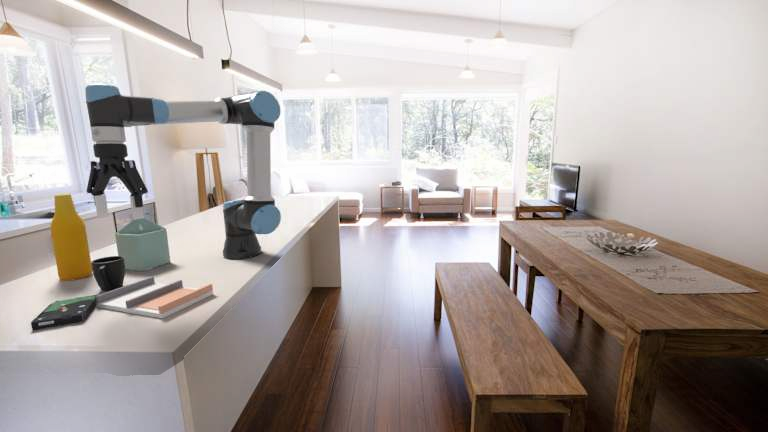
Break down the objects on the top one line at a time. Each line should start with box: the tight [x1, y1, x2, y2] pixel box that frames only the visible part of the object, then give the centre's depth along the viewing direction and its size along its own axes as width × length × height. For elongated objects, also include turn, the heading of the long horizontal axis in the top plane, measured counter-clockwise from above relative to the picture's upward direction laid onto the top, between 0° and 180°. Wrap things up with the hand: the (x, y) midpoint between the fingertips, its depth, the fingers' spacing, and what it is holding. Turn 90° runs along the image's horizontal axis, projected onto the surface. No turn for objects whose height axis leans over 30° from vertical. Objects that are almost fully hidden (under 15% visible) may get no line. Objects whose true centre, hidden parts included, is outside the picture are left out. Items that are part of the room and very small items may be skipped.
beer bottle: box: [50, 193, 93, 282], centre depth 125 cm, size 9×9×29 cm
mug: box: [91, 255, 126, 292], centre depth 113 cm, size 8×12×10 cm
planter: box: [114, 217, 171, 272], centre depth 134 cm, size 16×8×20 cm, turn 117°
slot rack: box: [95, 276, 214, 319], centre depth 104 cm, size 17×24×3 cm
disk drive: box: [30, 294, 99, 331], centre depth 96 cm, size 10×3×15 cm
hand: (120, 218), depth 104 cm, fingers open, 13 cm apart
